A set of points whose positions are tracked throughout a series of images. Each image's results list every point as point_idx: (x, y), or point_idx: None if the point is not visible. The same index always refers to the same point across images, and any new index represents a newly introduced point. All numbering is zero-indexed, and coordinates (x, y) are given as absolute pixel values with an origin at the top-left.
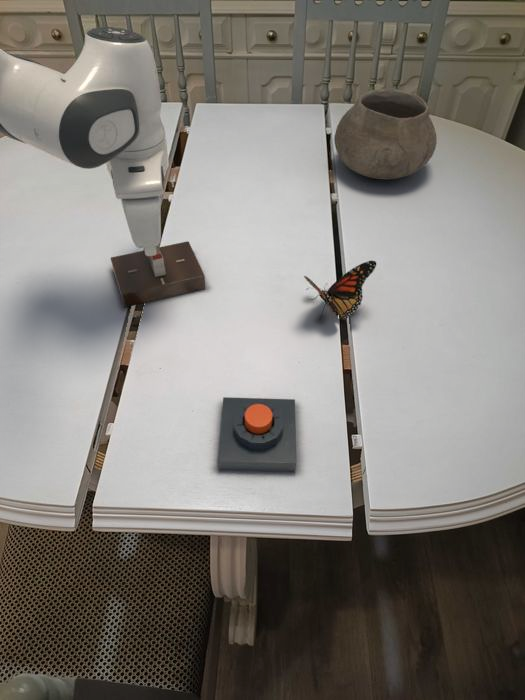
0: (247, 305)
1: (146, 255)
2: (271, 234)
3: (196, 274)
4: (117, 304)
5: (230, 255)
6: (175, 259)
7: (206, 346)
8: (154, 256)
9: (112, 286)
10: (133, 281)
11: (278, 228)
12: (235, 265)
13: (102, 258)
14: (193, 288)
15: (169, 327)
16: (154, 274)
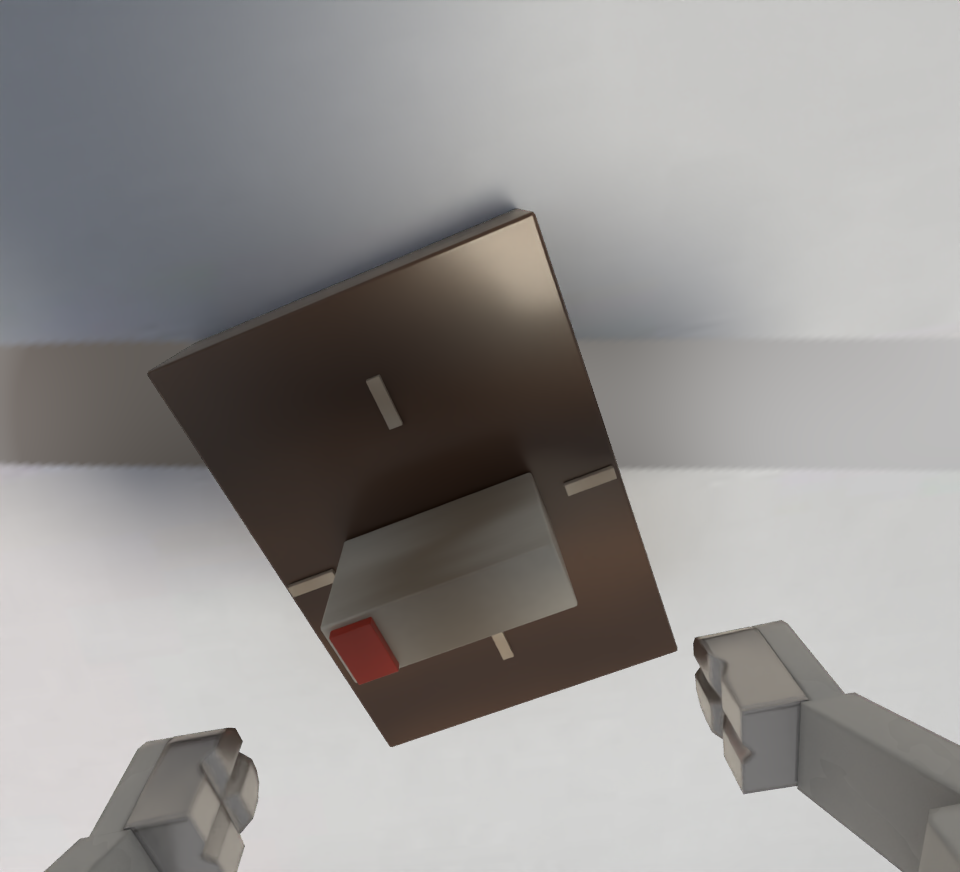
0: (315, 812)
1: (148, 742)
2: (748, 846)
3: (393, 718)
4: (214, 294)
5: (626, 738)
6: None
7: (44, 717)
8: (357, 642)
9: (368, 230)
10: (287, 424)
11: (783, 862)
12: (557, 759)
13: (649, 96)
14: None
15: (111, 575)
16: (362, 536)
